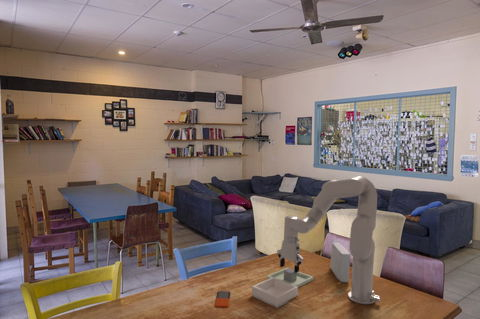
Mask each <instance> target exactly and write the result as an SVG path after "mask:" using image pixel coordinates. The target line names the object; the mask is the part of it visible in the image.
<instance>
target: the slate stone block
mask: <svg viewBox="0 0 480 319" xmlns="http://www.w3.org/2000/svg"><path fill="white" fill-rule="evenodd" d="M284 280H287V281H289V282H293V281H295V280H297V273H294V269H293V268H291V267H288V269H286V270H284Z"/></svg>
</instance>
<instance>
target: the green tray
mask: <svg viewBox="0 0 480 319" xmlns="http://www.w3.org/2000/svg"><path fill="white" fill-rule="evenodd" d="M288 268H289V267H285V268H282V269H280V270H278V271H276V272H273V273H271V274H270V273H269V274H268V275H267V276H266V280H267V279H270V278H272V277H275V278H277V279H280V280H282V281H284V282H287V283H289V284H292V285H294V286H297V287H298V289H299V288H300V287H303V286H305V285H306V284H309V283H311V282H312V281H314V276H312V275H310V274H307V273H303V272H301V271H299V272H297V280H295V281H293V282H289V281H287V280H284V270H286V269H288Z"/></svg>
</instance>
